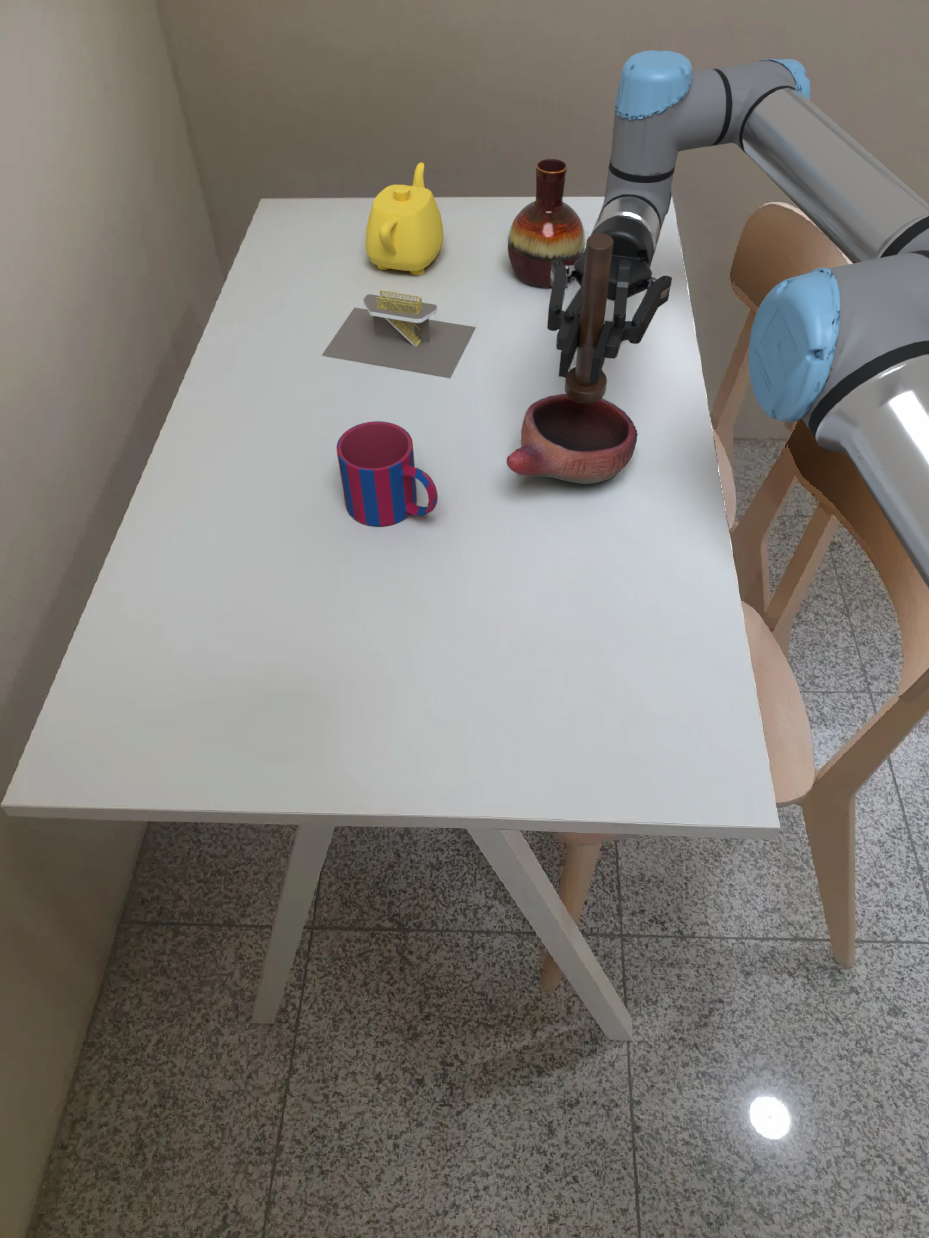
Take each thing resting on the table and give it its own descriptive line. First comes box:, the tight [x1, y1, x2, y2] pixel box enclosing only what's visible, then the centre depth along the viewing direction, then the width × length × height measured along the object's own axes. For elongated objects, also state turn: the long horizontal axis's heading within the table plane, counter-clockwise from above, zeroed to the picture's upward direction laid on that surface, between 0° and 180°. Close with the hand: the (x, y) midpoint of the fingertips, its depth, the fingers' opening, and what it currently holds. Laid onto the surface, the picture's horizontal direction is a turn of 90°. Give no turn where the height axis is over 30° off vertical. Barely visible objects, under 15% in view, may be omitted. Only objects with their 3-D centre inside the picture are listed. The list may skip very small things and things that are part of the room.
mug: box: [336, 420, 439, 527], centre depth 91 cm, size 8×12×8 cm, turn 46°
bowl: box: [506, 393, 639, 485], centre depth 94 cm, size 16×13×8 cm
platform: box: [321, 289, 477, 379], centre depth 111 cm, size 12×18×7 cm, turn 73°
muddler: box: [564, 233, 613, 404], centre depth 83 cm, size 4×4×18 cm
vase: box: [507, 158, 586, 288], centre depth 118 cm, size 11×11×15 cm
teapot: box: [365, 162, 445, 276], centre depth 123 cm, size 18×11×11 cm, turn 164°
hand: (579, 367), depth 81 cm, fingers closed on muddler, 2 cm apart
